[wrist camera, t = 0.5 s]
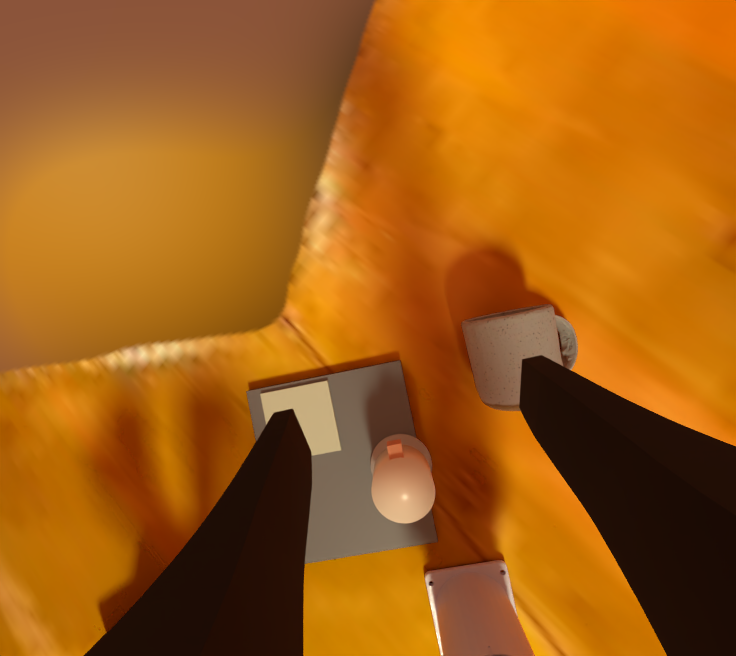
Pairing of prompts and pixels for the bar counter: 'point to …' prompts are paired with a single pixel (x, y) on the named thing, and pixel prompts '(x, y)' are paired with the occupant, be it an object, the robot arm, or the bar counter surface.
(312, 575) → the bar counter surface
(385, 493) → the domed cylinder with nub
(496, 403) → the ceramic mug
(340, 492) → the board
